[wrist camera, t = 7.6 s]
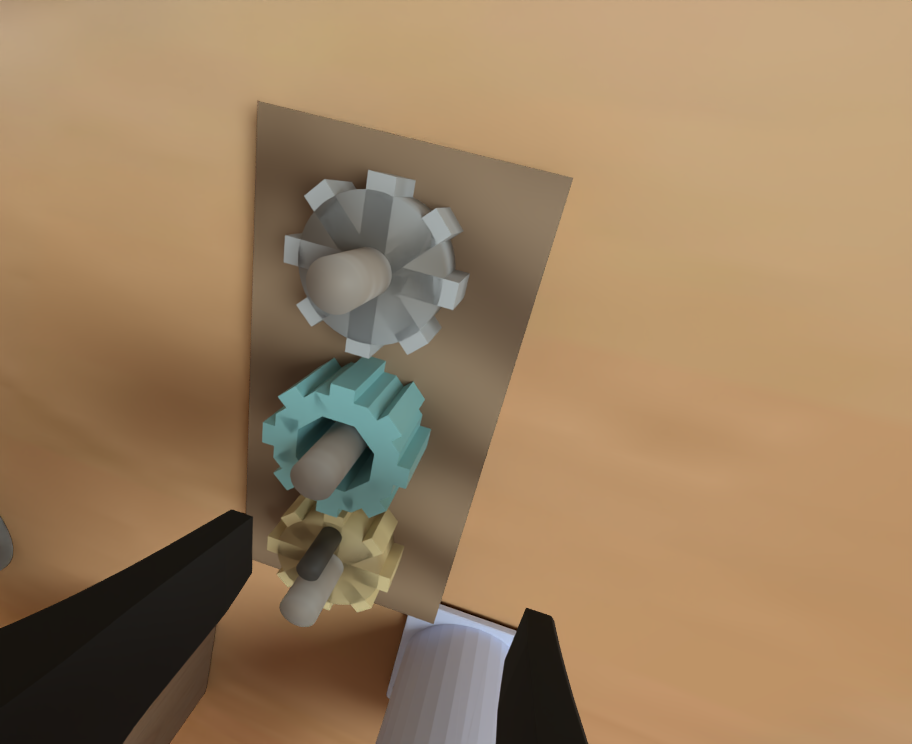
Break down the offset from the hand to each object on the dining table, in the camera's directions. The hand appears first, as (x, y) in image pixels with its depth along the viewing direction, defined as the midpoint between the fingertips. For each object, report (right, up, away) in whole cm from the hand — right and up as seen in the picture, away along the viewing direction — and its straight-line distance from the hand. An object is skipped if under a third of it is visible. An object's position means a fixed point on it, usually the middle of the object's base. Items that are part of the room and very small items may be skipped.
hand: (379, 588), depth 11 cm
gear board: (-2, +4, +9) cm, 10 cm away
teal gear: (-2, +3, +8) cm, 9 cm away
